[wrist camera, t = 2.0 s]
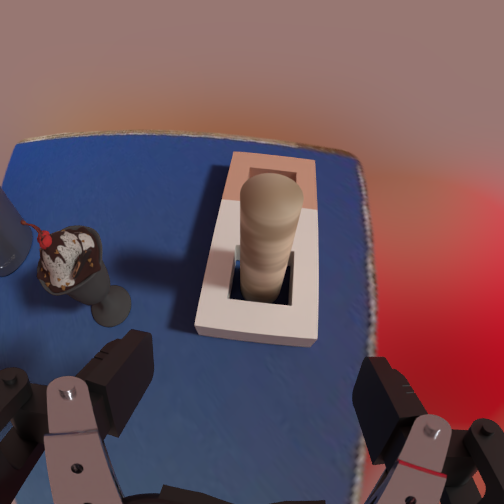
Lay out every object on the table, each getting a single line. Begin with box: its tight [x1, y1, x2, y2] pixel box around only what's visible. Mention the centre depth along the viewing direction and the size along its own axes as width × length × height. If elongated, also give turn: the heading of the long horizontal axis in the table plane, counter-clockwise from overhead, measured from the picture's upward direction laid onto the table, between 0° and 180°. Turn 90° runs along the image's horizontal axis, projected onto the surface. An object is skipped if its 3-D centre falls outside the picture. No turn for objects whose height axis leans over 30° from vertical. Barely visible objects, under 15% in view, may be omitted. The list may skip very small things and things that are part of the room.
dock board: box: [194, 152, 319, 347], centre depth 33 cm, size 24×11×3 cm, turn 174°
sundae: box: [20, 220, 131, 327], centre depth 23 cm, size 7×7×15 cm
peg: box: [240, 173, 304, 304], centre depth 25 cm, size 4×4×14 cm
